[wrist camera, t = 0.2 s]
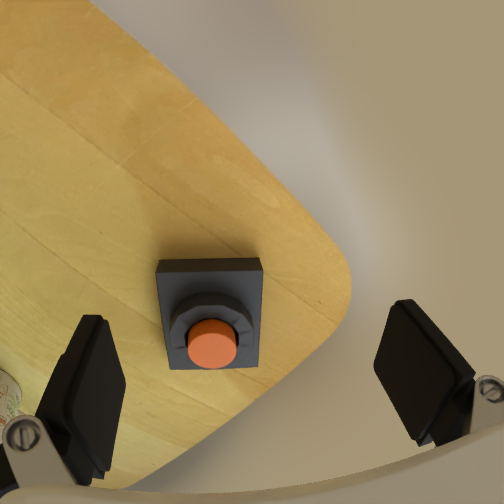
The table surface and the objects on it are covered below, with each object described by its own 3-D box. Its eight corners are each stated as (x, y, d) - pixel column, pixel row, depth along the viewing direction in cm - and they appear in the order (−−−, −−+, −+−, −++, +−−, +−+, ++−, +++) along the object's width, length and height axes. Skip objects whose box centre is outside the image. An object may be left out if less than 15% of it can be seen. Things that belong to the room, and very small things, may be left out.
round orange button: (186, 319, 23) (185, 333, 22) (234, 317, 24) (236, 332, 22) (190, 354, 25) (189, 369, 23) (235, 353, 25) (236, 368, 24)
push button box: (159, 259, 25) (151, 284, 21) (259, 257, 26) (267, 282, 22) (171, 353, 29) (168, 384, 26) (255, 351, 30) (260, 381, 27)
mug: (-13, 349, 27) (-47, 407, 18) (65, 411, 32) (46, 474, 23) (-27, 374, 28) (-55, 425, 19) (41, 427, 33) (24, 482, 24)
